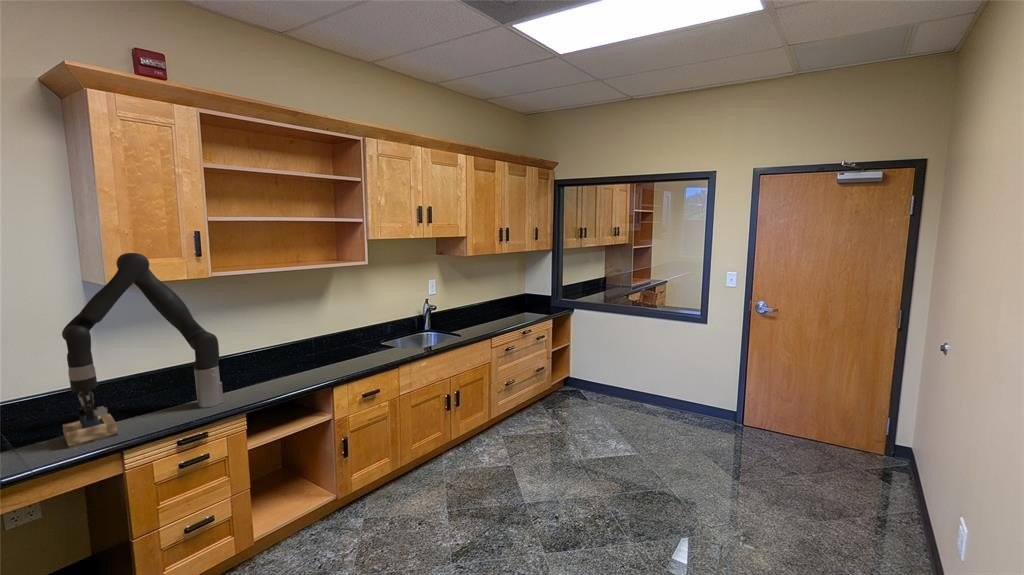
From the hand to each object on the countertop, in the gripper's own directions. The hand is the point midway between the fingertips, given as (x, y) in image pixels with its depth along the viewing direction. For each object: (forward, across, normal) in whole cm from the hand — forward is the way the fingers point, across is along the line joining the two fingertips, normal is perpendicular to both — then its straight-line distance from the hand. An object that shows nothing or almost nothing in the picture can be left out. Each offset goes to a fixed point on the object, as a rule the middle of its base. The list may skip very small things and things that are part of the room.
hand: (89, 417), depth 182 cm
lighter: (+8, +18, -4) cm, 20 cm away
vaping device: (+7, -1, 0) cm, 7 cm away
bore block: (+8, 0, 0) cm, 8 cm away
